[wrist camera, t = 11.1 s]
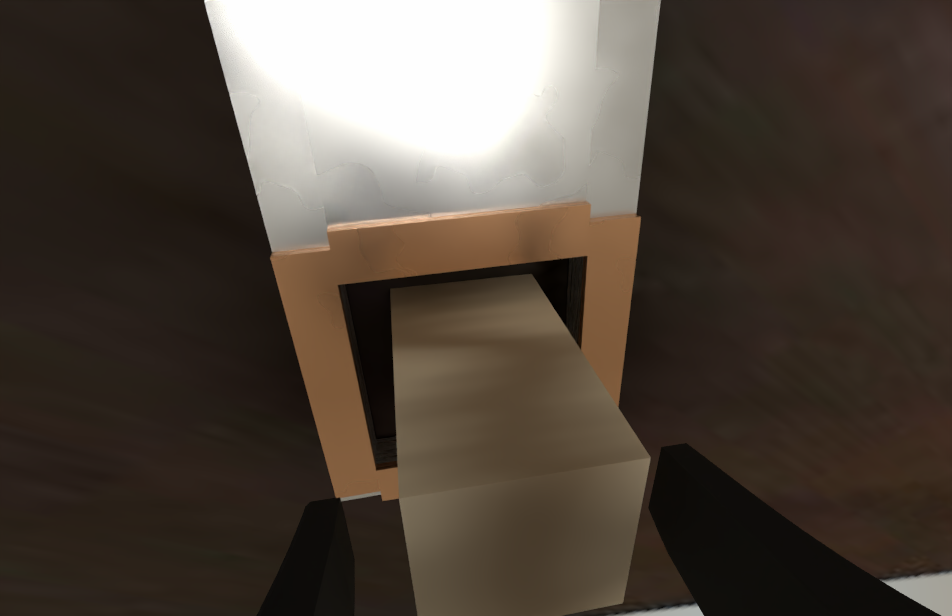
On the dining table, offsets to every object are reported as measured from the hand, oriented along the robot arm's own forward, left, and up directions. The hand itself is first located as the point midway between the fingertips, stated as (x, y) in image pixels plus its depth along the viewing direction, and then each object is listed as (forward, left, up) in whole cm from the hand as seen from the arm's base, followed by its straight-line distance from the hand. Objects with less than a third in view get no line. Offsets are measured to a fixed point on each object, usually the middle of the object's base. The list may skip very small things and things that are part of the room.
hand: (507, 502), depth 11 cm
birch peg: (0, 0, -7) cm, 7 cm away
